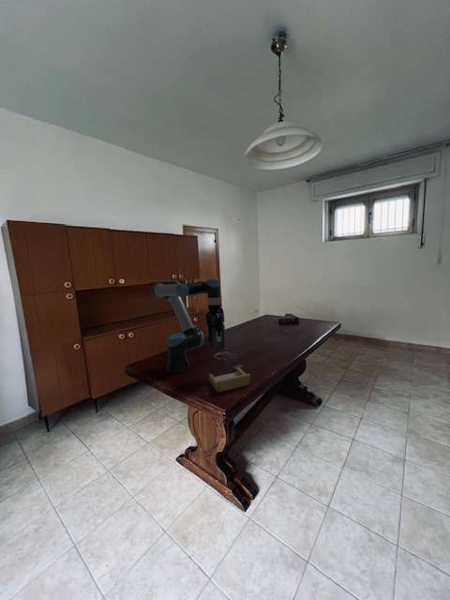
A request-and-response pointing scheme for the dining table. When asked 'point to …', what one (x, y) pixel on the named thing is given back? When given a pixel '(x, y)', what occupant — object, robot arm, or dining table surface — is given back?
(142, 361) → the dining table surface
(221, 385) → the dock bay
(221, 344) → the beverage bottle
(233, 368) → the gray rectangular block
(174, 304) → the robot arm
